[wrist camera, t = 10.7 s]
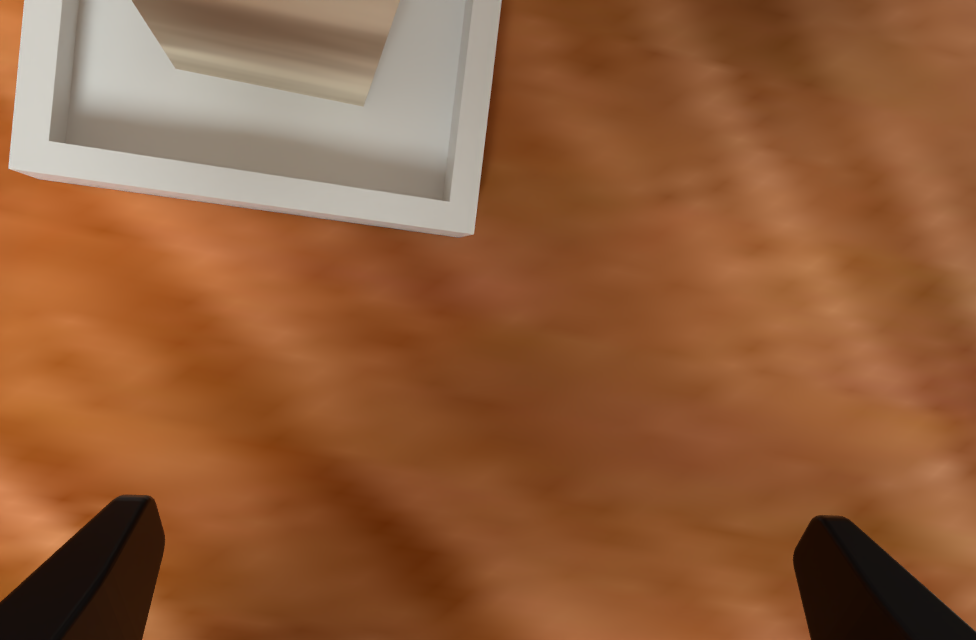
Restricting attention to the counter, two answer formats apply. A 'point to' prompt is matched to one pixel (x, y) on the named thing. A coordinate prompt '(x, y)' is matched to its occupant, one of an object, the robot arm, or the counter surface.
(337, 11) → the beech block
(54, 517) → the counter surface
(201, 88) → the tray
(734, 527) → the counter surface
